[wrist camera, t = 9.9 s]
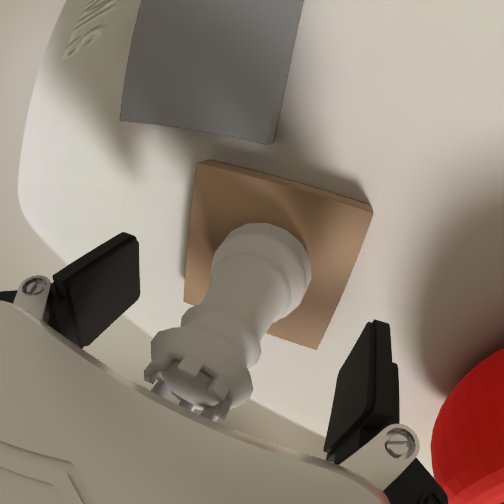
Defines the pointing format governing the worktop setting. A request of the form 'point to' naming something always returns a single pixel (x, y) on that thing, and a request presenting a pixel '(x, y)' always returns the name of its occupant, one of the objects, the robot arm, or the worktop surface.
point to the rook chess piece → (230, 320)
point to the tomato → (472, 436)
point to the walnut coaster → (286, 217)
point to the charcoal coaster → (211, 65)
